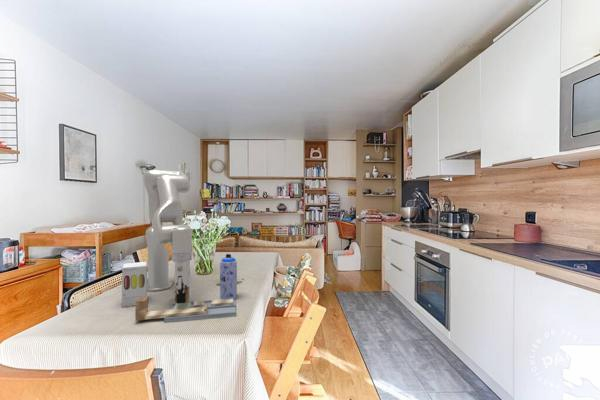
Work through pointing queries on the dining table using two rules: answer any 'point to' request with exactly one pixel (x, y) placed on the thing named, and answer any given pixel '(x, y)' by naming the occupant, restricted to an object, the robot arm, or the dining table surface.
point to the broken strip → (214, 303)
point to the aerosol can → (228, 277)
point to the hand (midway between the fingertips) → (182, 300)
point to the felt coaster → (182, 306)
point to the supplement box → (133, 282)
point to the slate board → (211, 313)
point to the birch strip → (163, 311)
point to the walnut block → (185, 294)
